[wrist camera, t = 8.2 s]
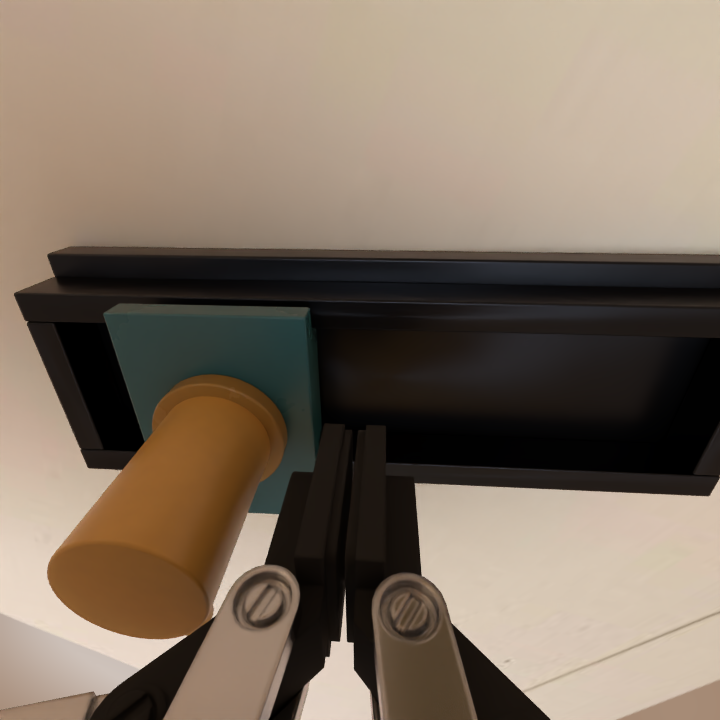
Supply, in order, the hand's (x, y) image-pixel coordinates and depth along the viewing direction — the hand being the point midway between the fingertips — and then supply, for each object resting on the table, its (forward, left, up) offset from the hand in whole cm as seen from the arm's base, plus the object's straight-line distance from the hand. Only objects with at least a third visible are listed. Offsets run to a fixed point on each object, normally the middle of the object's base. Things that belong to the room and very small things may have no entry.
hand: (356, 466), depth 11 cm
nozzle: (-4, 0, -5) cm, 6 cm away
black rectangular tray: (+1, 0, -6) cm, 6 cm away
